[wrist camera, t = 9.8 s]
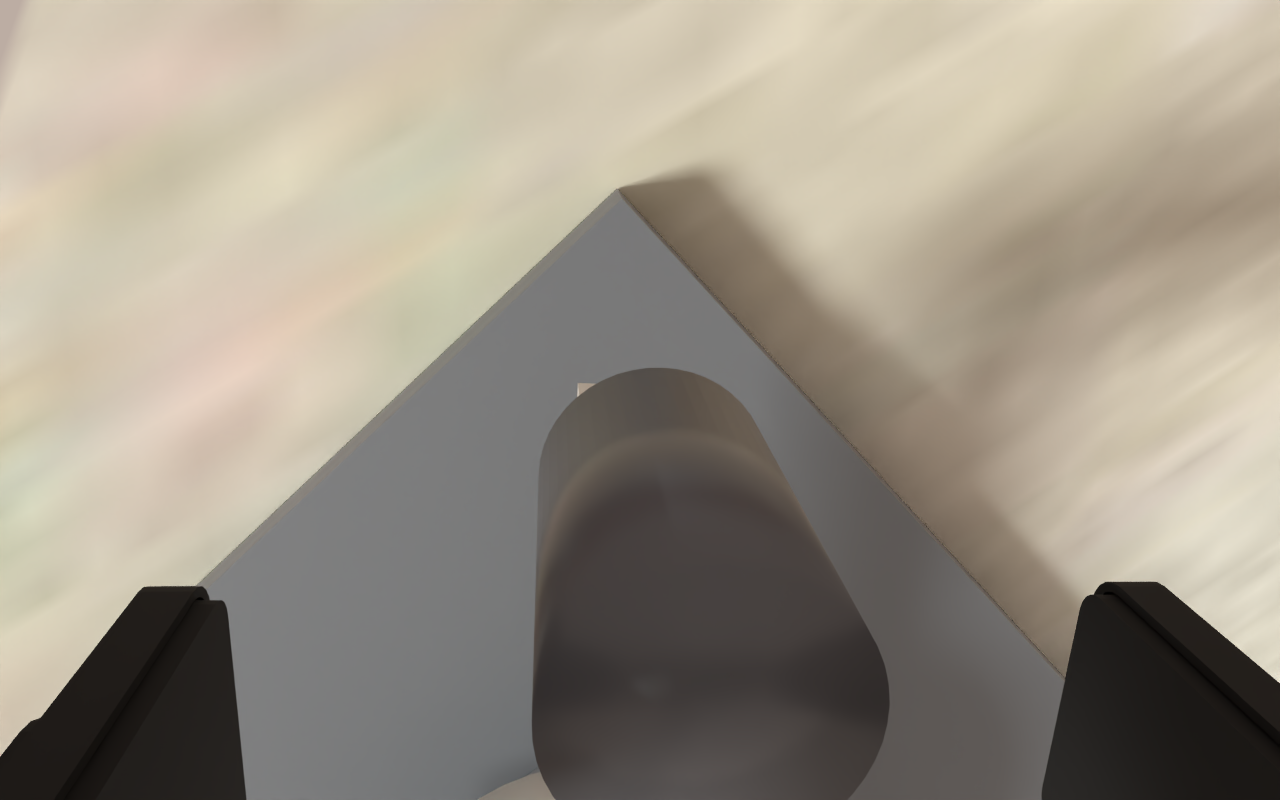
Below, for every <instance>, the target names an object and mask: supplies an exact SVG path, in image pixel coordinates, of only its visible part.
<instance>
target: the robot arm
mask: <svg viewBox="0 0 1280 800" xmlns="http://www.w3.org/2000/svg"><path fill="white" fill-rule="evenodd" d="M1041 797H1042V800H1280V683H1279V682H1277V681H1276V680H1275V679H1274V678H1273V677H1271V676H1270V675H1269V674H1268V673H1267V672H1266V671H1264V670H1263V669H1262V668H1261V667H1260V666H1258V665H1257V664H1256V663H1255V662H1254V661H1252V660H1251V659H1250V658H1249V657H1248V656H1247V655H1245V654H1244V653H1243V652H1242V651H1241V650H1239V649H1238V648H1237V647H1236V646H1235V645H1233V644H1232V643H1231V642H1230V641H1229V640H1228V639H1226V638H1225V637H1224V636H1223V635H1222V634H1220V633H1219V632H1218V631H1217V630H1216V629H1214V628H1213V627H1212V626H1211V625H1210V624H1209V623H1207V622H1206V621H1205V620H1204V619H1203V618H1201V617H1200V616H1199V615H1198V614H1197V613H1195V612H1194V611H1193V610H1192V609H1191V608H1190V607H1188V606H1187V605H1186V604H1185V603H1184V602H1182V601H1181V600H1180V599H1179V598H1178V597H1176V596H1175V595H1174V594H1173V593H1172V592H1171V591H1169V590H1168V589H1167V588H1166V587H1165V586H1163V585H1161V584H1159V583H1158V582H1105V583H1103V584H1101V585H1100V586H1099V587H1098V588H1097V590H1096V591H1095V593H1094V595H1089V596H1087V597H1086V598H1085V599H1084V600H1083V602H1082V605H1081V607H1080V611H1079V616H1078V621H1077V626H1076V630H1075V635H1074V640H1073V644H1072V649H1071V654H1070V659H1069V663H1068V668H1067V673H1066V677H1065V682H1064V687H1063V692H1062V696H1061V701H1060V706H1059V710H1058V715H1057V720H1056V725H1055V729H1054V734H1053V739H1052V744H1051V748H1050V753H1049V758H1048V762H1047V767H1046V772H1045V777H1044V781H1043V786H1042V794H1041ZM0 800H247V799H246V789H245V779H244V769H243V759H242V749H241V739H240V729H239V719H238V709H237V699H236V689H235V679H234V669H233V659H232V649H231V639H230V629H229V619H228V612H227V607H226V604H225V602H224V601H222V600H210V598H209V595H208V593H207V590H206V589H205V588H204V587H203V586H154V587H143V588H142V589H141V590H140V591H139V592H138V593H137V594H136V596H135V597H134V598H133V600H132V601H131V602H130V603H129V605H128V606H127V607H126V609H125V610H124V611H123V612H122V614H121V615H120V616H119V618H118V619H117V620H116V621H115V623H114V624H113V625H112V627H111V628H110V629H109V630H108V632H107V633H106V634H105V636H104V637H103V638H102V640H101V641H100V642H99V643H98V645H97V646H96V647H95V649H94V650H93V651H92V652H91V654H90V655H89V656H88V658H87V659H86V660H85V661H84V663H83V664H82V665H81V667H80V668H79V669H78V670H77V672H76V673H75V674H74V676H73V677H72V678H71V679H70V681H69V682H68V683H67V685H66V686H65V687H64V689H63V690H62V691H61V692H60V694H59V695H58V696H57V698H56V699H55V700H54V701H53V703H52V704H51V705H50V707H49V708H48V709H47V710H46V712H45V713H44V714H43V716H42V717H41V718H39V719H36V720H33V721H31V722H30V723H29V724H28V725H27V726H26V727H25V728H23V729H22V730H21V731H20V732H19V734H18V735H17V736H16V737H15V739H14V740H13V741H12V743H11V744H10V745H9V746H8V748H7V749H6V750H5V751H4V753H3V754H2V755H1V756H0Z"/></svg>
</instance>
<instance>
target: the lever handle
mask: <svg viewBox="0 0 1280 800" xmlns="http://www.w3.org/2000/svg"><path fill="white" fill-rule="evenodd" d="M889 706H890V698H889V683H888V678H887V673H886V668H885V664H884V661H883V659H882V656H881V654H880V651H879V648H878V646H877V644H876V642H875V640H874V639H873V637H872V635H871V633H870V631H869V630H868V628H867V626H866V624H865V622H864V620H863V619H862V617H861V615H860V613H859V611H858V609H857V608H856V606H855V604H854V602H853V600H852V598H851V597H850V595H849V593H848V591H847V589H846V587H845V586H844V584H843V582H842V580H841V578H840V576H839V575H838V573H837V571H836V569H835V567H834V566H833V564H832V562H831V560H830V558H829V556H828V555H827V553H826V551H825V549H824V547H823V545H822V544H821V542H820V540H819V538H818V536H817V534H816V533H815V531H814V529H813V527H812V525H811V523H810V522H809V520H808V518H807V516H806V514H805V513H804V511H803V509H802V507H801V505H800V503H799V502H798V500H797V498H796V496H795V494H794V492H793V491H792V489H791V487H790V485H789V483H788V481H787V480H786V478H785V476H784V474H783V472H782V470H781V469H780V467H779V465H778V463H777V461H776V460H775V458H774V456H773V454H772V452H771V450H770V449H769V447H768V445H767V443H766V441H765V439H764V438H763V436H762V434H761V432H760V430H759V428H758V427H757V425H756V423H755V421H754V420H753V418H752V416H751V414H750V413H749V412H748V411H747V409H746V408H745V407H744V405H743V404H742V403H741V402H740V401H739V400H738V399H737V398H736V397H735V396H734V395H733V394H732V393H730V392H729V391H727V390H726V389H725V388H723V387H722V386H721V385H719V384H717V383H715V382H713V381H711V380H710V379H708V378H706V377H703V376H700V375H698V374H695V373H692V372H688V371H683V370H679V369H671V368H643V369H637V370H631V371H627V372H624V373H620V374H616V375H614V376H612V377H609V378H607V379H604V380H602V381H600V382H599V383H597V384H590V383H578V392H577V397H576V398H575V399H574V400H573V401H572V402H571V403H570V404H569V405H568V406H567V407H566V408H565V410H564V411H563V412H562V413H561V415H560V416H559V417H558V419H557V420H556V422H555V423H554V425H553V427H552V429H551V430H550V432H549V434H548V437H547V439H546V441H545V444H544V447H543V450H542V454H541V458H540V465H539V477H538V513H537V549H536V584H535V620H534V655H533V691H532V742H533V747H534V752H535V757H536V762H537V764H538V767H539V770H540V772H538V773H534V774H531V775H528V776H525V777H523V778H520V779H518V780H515V781H513V782H510V783H508V784H505V785H503V786H501V787H499V788H497V789H496V790H494V791H492V792H490V793H488V794H486V795H484V796H482V797H481V798H479V799H477V800H848V799H849V798H850V796H851V795H852V794H853V793H854V792H855V790H856V789H857V788H858V786H859V785H860V784H861V783H862V781H863V780H864V779H865V777H866V775H867V774H868V772H869V770H870V768H871V767H872V765H873V763H874V762H875V760H876V757H877V755H878V752H879V750H880V747H881V745H882V743H883V739H884V735H885V731H886V728H887V724H888V715H889Z"/></svg>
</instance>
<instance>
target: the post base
mask: <svg viewBox="0 0 1280 800" xmlns="http://www.w3.org/2000/svg"><path fill="white" fill-rule="evenodd" d="M643 368H671V369H679V370H683V371H688V372H692V373H695V374H698V375H700V376H703V377H706V378H708V379H710V380H711V381H713V382H715V383H717V384H719V385H721V386H722V387H723V388H725V389H726V390H727V391H729V392H730V393H732V394H733V395H734V396H735V397H736V398H737V399H738V400H739V401H740V402H741V403H742V404H743V405H744V407H745V408H746V409H747V411H748V412H749V413H750V414H751V416H752V418H753V420H754V421H755V423H756V425H757V427H758V428H759V430H760V432H761V434H762V436H763V438H764V439H765V441H766V443H767V445H768V447H769V449H770V450H771V452H772V454H773V456H774V458H775V460H776V461H777V463H778V465H779V467H780V469H781V470H782V472H783V474H784V476H785V478H786V480H787V481H788V483H789V485H790V487H791V489H792V491H793V492H794V494H795V496H796V498H797V500H798V502H799V503H800V505H801V507H802V509H803V511H804V513H805V514H806V516H807V518H808V520H809V522H810V523H811V525H812V527H813V529H814V531H815V533H816V534H817V536H818V538H819V540H820V542H821V544H822V545H823V547H824V549H825V551H826V553H827V555H828V556H829V558H830V560H831V562H832V564H833V566H834V567H835V569H836V571H837V573H838V575H839V576H840V578H841V580H842V582H843V584H844V586H845V587H846V589H847V591H848V593H849V595H850V597H851V598H852V600H853V602H854V604H855V606H856V608H857V609H858V611H859V613H860V615H861V617H862V619H863V620H864V622H865V624H866V626H867V628H868V630H869V631H870V633H871V635H872V637H873V639H874V640H875V642H876V644H877V646H878V648H879V651H880V654H881V656H882V659H883V661H884V664H885V668H886V673H887V678H888V683H889V698H890V706H889V715H888V724H887V728H886V731H885V735H884V739H883V743H882V745H881V747H880V750H879V752H878V755H877V757H876V760H875V762H874V763H873V765H872V767H871V768H870V770H869V772H868V774H867V775H866V777H865V779H864V780H863V781H862V783H861V784H860V785H859V786H858V788H857V789H856V790H855V792H854V793H853V794H852V795H851V796H850V798H849V799H848V800H1042V797H1041V794H1042V786H1043V781H1044V777H1045V772H1046V767H1047V762H1048V758H1049V753H1050V748H1051V744H1052V739H1053V734H1054V729H1055V725H1056V720H1057V715H1058V710H1059V706H1060V701H1061V696H1062V692H1063V687H1064V682H1065V678H1064V677H1063V676H1062V675H1061V673H1060V672H1059V671H1058V670H1057V669H1056V668H1055V667H1054V666H1053V665H1052V664H1051V663H1050V661H1049V660H1048V659H1047V658H1046V657H1045V656H1044V655H1043V654H1042V653H1041V652H1040V650H1039V649H1038V648H1037V647H1036V646H1035V645H1034V644H1033V643H1032V642H1031V641H1030V640H1029V638H1028V637H1027V636H1026V635H1025V634H1024V633H1023V632H1022V631H1021V630H1020V629H1019V627H1018V626H1017V625H1016V624H1015V623H1014V622H1013V621H1012V620H1011V619H1010V618H1009V617H1008V615H1007V614H1006V613H1005V612H1004V611H1003V610H1002V609H1001V608H1000V607H999V606H998V605H997V603H996V602H995V601H994V600H993V599H992V598H991V597H990V596H989V595H988V594H987V592H986V591H985V590H984V589H983V588H982V587H981V586H980V585H979V584H978V583H977V582H976V580H975V579H974V578H973V577H972V576H971V575H970V574H969V573H968V572H967V571H966V570H965V568H964V567H963V566H962V565H961V564H960V563H959V562H958V561H957V560H956V559H955V557H954V556H953V555H952V554H951V553H950V552H949V551H948V550H947V549H946V548H945V547H944V545H943V544H942V543H941V542H940V541H939V540H938V539H937V538H936V537H935V536H934V535H933V533H932V532H931V531H930V530H929V529H928V528H927V527H926V526H925V525H924V524H923V522H922V521H921V520H920V519H919V518H918V517H917V516H916V515H915V514H914V513H913V512H912V510H911V509H910V508H909V507H908V506H907V505H906V504H905V503H904V502H903V501H902V499H901V498H900V497H899V496H898V495H897V494H896V493H895V492H894V491H893V490H892V489H891V487H890V486H889V485H888V484H887V483H886V482H885V481H884V480H883V479H882V478H881V477H880V475H879V474H878V473H877V472H876V471H875V470H874V469H873V468H872V467H871V466H870V464H869V463H868V462H867V461H866V460H865V459H864V458H863V457H862V456H861V455H860V454H859V452H858V451H857V450H856V449H855V448H854V447H853V446H852V445H851V444H850V443H849V442H848V440H847V439H846V438H845V437H844V436H843V435H842V434H841V433H840V432H839V431H838V429H837V428H836V427H835V426H834V425H833V424H832V423H831V422H830V421H829V420H828V419H827V417H826V416H825V415H824V414H823V413H822V412H821V411H820V410H819V409H818V408H817V407H816V405H815V404H814V403H813V402H812V401H811V400H810V399H809V398H808V397H807V396H806V394H805V393H804V392H803V391H802V390H801V389H800V388H799V387H798V386H797V385H796V384H795V382H794V381H793V380H792V379H791V378H790V377H789V376H788V375H787V374H786V373H785V372H784V370H783V369H782V368H781V367H780V366H779V365H778V364H777V363H776V362H775V361H774V359H773V358H772V357H771V356H770V355H769V354H768V353H767V352H766V351H765V350H764V349H763V347H762V346H761V345H760V344H759V343H758V342H757V341H756V340H755V339H754V338H753V336H752V335H751V334H750V333H749V332H748V331H747V330H746V329H745V328H744V327H743V326H742V324H741V323H740V322H739V321H738V320H737V319H736V318H735V317H734V316H733V315H732V314H731V312H730V311H729V310H728V309H727V308H726V307H725V306H724V305H723V304H722V303H721V301H720V300H719V299H718V298H717V297H716V296H715V295H714V294H713V293H712V292H711V291H710V289H709V288H708V287H707V286H706V285H705V284H704V283H703V282H702V281H701V280H700V279H699V277H698V276H697V275H696V274H695V273H694V272H693V271H692V270H691V269H690V268H689V266H688V265H687V264H686V263H685V262H684V261H683V260H682V259H681V258H680V257H679V256H678V254H677V253H676V252H675V251H674V250H673V249H672V248H671V247H670V246H669V245H668V244H667V242H666V241H665V240H664V239H663V238H662V237H661V236H660V235H659V234H658V233H657V231H656V230H655V229H654V228H653V227H652V226H651V225H650V224H649V223H648V222H647V221H646V219H645V218H644V217H643V216H642V215H641V214H640V213H639V212H638V211H637V210H636V208H635V207H634V206H633V205H632V204H631V203H630V202H629V201H628V200H627V199H626V198H625V196H624V195H623V194H622V193H621V192H620V191H619V190H618V189H616V190H615V191H614V192H613V193H612V194H611V195H610V196H609V197H608V198H607V199H605V200H604V201H603V202H602V203H601V204H600V205H599V206H598V207H597V208H596V209H595V210H594V211H593V212H592V213H591V214H590V215H589V216H587V217H586V218H585V219H584V220H583V221H582V222H581V223H580V224H579V225H578V226H577V227H576V228H575V229H574V230H573V231H572V232H571V233H569V234H568V235H567V236H566V237H565V238H564V239H563V240H562V241H561V242H560V243H559V244H558V245H557V246H556V247H555V248H554V249H552V250H551V251H550V252H549V253H548V254H547V255H546V256H545V257H544V258H543V259H542V260H541V261H540V262H539V263H538V264H537V265H536V266H534V267H533V268H532V269H531V270H530V271H529V272H528V273H527V274H526V275H525V276H524V277H523V278H522V279H521V280H520V281H519V282H518V283H516V284H515V285H514V286H513V287H512V288H511V289H510V290H509V291H508V292H507V293H506V294H505V295H504V296H503V297H502V298H501V299H500V300H498V301H497V302H496V303H495V304H494V305H493V306H492V307H491V308H490V309H489V310H488V311H487V312H486V313H485V314H484V315H483V316H481V317H480V318H479V319H478V320H477V321H476V322H475V323H474V324H473V325H472V326H471V327H470V328H469V329H468V330H467V331H466V332H465V333H463V334H462V335H461V336H460V337H459V338H458V339H457V340H456V341H455V342H454V343H453V344H452V345H451V346H450V347H449V348H448V349H447V350H445V351H444V352H443V353H442V354H441V355H440V356H439V357H438V358H437V359H436V360H435V361H434V362H433V363H432V364H431V365H430V366H429V367H427V368H426V369H425V370H424V371H423V372H422V373H421V374H420V375H419V376H418V377H417V378H416V379H415V380H414V381H413V382H412V383H411V384H409V385H408V386H407V387H406V388H405V389H404V390H403V391H402V392H401V393H400V394H399V395H398V396H397V397H396V398H395V399H394V400H392V401H391V402H390V403H389V404H388V405H387V406H386V407H385V408H384V409H383V410H382V411H381V412H380V413H379V414H378V415H377V416H376V417H374V418H373V419H372V420H371V421H370V422H369V423H368V424H367V425H366V426H365V427H364V428H363V429H362V430H361V431H360V432H359V433H358V434H356V435H355V436H354V437H353V438H352V439H351V440H350V441H349V442H348V443H347V444H346V445H345V446H344V447H343V448H342V449H341V450H340V451H338V452H337V453H336V454H335V455H334V456H333V457H332V458H331V459H330V460H329V461H328V462H327V463H326V464H325V465H324V466H323V467H321V468H320V469H319V470H318V471H317V472H316V473H315V474H314V475H313V476H312V477H311V478H310V479H309V480H308V481H307V482H306V483H305V484H303V485H302V486H301V487H300V488H299V489H298V490H297V491H296V492H295V493H294V494H293V495H292V496H291V497H290V498H289V499H288V500H287V501H285V502H284V503H283V504H282V505H281V506H280V507H279V508H278V509H277V510H276V511H275V512H274V513H273V514H272V515H271V516H270V517H269V518H267V519H266V520H265V521H264V522H263V523H262V524H261V525H260V526H259V527H258V528H257V529H256V530H255V531H254V532H253V533H252V534H251V535H249V536H248V537H247V538H246V539H245V540H244V541H243V542H242V543H241V544H240V545H239V546H238V547H237V548H236V549H235V550H234V551H232V552H231V553H230V554H229V555H228V556H227V557H226V558H225V559H224V560H223V561H222V562H221V563H220V564H219V565H218V566H217V567H216V568H214V569H213V570H212V571H211V572H210V573H209V574H208V575H207V576H206V577H205V578H204V579H203V580H202V581H201V582H200V583H199V584H198V585H196V586H203V587H204V588H205V589H206V590H207V593H208V595H209V598H210V600H222V601H224V602H225V604H226V607H227V612H228V619H229V629H230V639H231V649H232V659H233V669H234V679H235V689H236V699H237V709H238V719H239V729H240V739H241V749H242V759H243V769H244V779H245V789H246V799H247V800H477V799H479V798H481V797H482V796H484V795H486V794H488V793H490V792H492V791H494V790H496V789H497V788H499V787H501V786H503V785H505V784H508V783H510V782H513V781H515V780H518V779H520V778H523V777H525V776H528V775H531V774H534V773H538V772H540V770H539V767H538V764H537V762H536V757H535V752H534V747H533V742H532V691H533V655H534V620H535V584H536V549H537V513H538V477H539V465H540V458H541V454H542V450H543V447H544V444H545V441H546V439H547V437H548V434H549V432H550V430H551V429H552V427H553V425H554V423H555V422H556V420H557V419H558V417H559V416H560V415H561V413H562V412H563V411H564V410H565V408H566V407H567V406H568V405H569V404H570V403H571V402H572V401H573V400H574V399H575V398H576V397H577V392H578V383H590V384H597V383H599V382H600V381H602V380H604V379H607V378H609V377H612V376H614V375H616V374H620V373H624V372H627V371H631V370H637V369H643Z"/></svg>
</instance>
